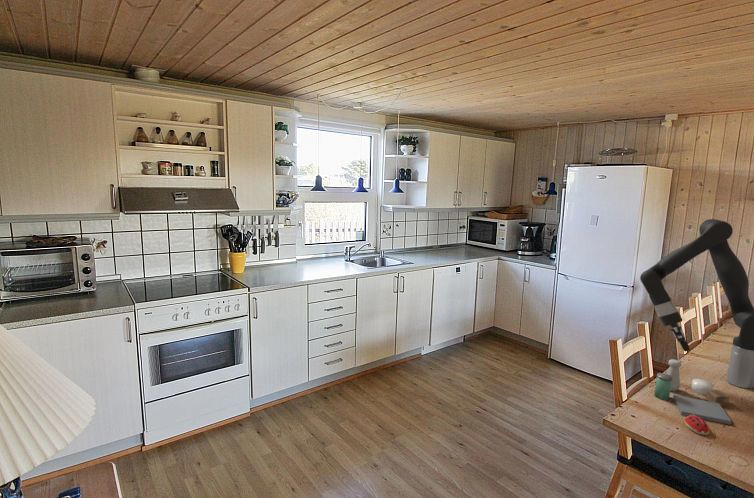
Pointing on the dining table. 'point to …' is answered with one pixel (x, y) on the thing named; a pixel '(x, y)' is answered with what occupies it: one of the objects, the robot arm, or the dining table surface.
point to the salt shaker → (674, 374)
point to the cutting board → (701, 409)
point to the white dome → (701, 386)
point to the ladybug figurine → (696, 424)
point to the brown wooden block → (717, 397)
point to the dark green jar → (663, 386)
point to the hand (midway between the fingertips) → (687, 349)
